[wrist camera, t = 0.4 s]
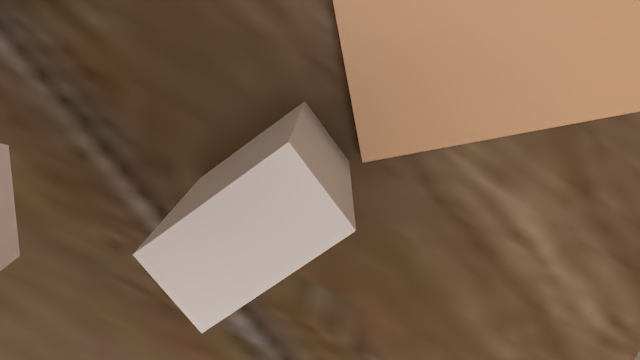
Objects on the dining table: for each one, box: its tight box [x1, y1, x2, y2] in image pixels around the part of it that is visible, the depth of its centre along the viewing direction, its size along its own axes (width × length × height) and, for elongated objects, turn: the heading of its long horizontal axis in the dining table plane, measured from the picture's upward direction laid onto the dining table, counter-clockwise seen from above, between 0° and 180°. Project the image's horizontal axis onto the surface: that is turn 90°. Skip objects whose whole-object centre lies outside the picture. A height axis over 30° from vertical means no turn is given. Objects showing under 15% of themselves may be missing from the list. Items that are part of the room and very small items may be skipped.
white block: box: [133, 101, 356, 333], centre depth 31 cm, size 5×9×13 cm, turn 126°
